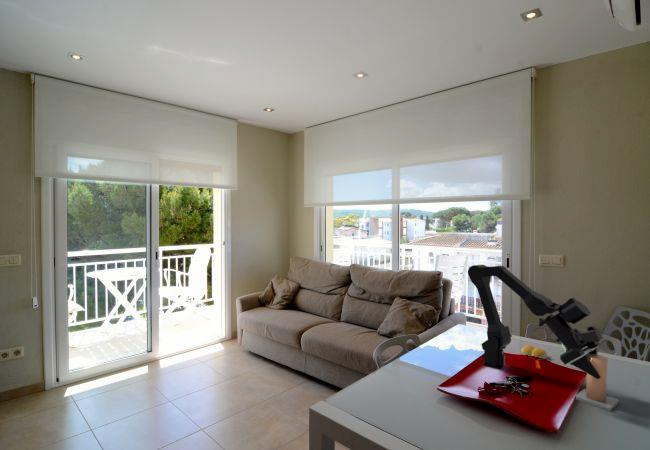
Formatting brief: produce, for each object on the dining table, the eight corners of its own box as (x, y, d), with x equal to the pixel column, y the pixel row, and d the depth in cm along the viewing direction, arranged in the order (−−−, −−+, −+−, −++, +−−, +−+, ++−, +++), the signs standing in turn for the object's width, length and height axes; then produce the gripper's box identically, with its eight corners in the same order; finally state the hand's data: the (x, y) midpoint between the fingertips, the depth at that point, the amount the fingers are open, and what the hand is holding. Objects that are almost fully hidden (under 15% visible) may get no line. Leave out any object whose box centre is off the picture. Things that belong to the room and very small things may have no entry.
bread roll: (543, 361, 142) (543, 351, 142) (519, 355, 149) (519, 345, 149) (549, 356, 148) (549, 347, 147) (526, 350, 154) (526, 341, 154)
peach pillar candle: (589, 400, 109) (590, 358, 109) (583, 392, 114) (585, 352, 114) (608, 403, 108) (610, 361, 108) (602, 395, 112) (604, 355, 112)
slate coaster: (574, 398, 112) (574, 396, 112) (584, 390, 117) (584, 388, 117) (609, 411, 105) (609, 408, 104) (618, 402, 110) (618, 399, 110)
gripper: (573, 323, 108) (617, 371, 99) (593, 314, 119) (635, 357, 111) (544, 341, 114) (583, 388, 106) (566, 331, 126) (603, 373, 117)
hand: (602, 376), depth 110 cm, fingers open, 5 cm apart
